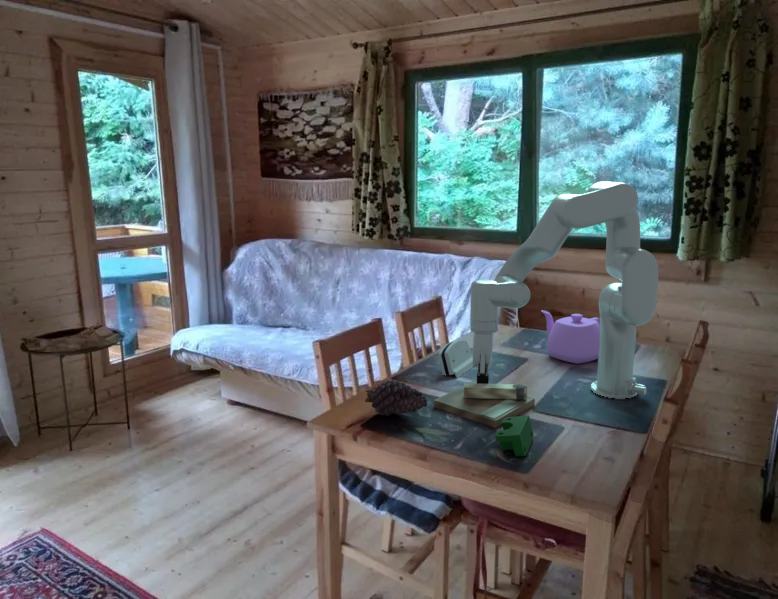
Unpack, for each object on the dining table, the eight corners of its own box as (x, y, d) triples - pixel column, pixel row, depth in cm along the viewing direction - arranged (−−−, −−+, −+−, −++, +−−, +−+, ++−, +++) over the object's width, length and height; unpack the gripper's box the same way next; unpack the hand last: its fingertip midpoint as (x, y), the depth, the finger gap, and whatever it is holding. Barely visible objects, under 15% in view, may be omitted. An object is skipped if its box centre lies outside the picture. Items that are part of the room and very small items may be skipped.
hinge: (457, 378, 182) (447, 347, 181) (444, 381, 184) (434, 350, 184) (478, 362, 196) (469, 334, 195) (466, 365, 198) (457, 337, 198)
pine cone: (432, 413, 157) (432, 378, 155) (420, 429, 148) (420, 391, 146) (371, 404, 163) (370, 370, 161) (356, 418, 154) (355, 383, 152)
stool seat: (534, 405, 161) (534, 397, 160) (495, 428, 148) (496, 419, 147) (474, 387, 174) (474, 380, 174) (433, 406, 161) (433, 399, 160)
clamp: (510, 455, 143) (506, 417, 145) (535, 454, 140) (530, 415, 142) (495, 457, 132) (491, 417, 135) (522, 456, 130) (517, 414, 132)
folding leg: (525, 394, 162) (526, 384, 161) (527, 399, 158) (527, 389, 158) (463, 392, 164) (464, 382, 163) (464, 398, 160) (464, 387, 159)
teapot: (617, 356, 200) (620, 313, 197) (580, 369, 188) (582, 324, 184) (562, 341, 218) (564, 301, 214) (524, 352, 205) (525, 310, 202)
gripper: (471, 317, 168) (470, 378, 172) (468, 332, 154) (467, 397, 158) (498, 318, 167) (496, 379, 171) (497, 333, 153) (495, 399, 157)
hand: (482, 388), depth 165 cm, fingers closed
